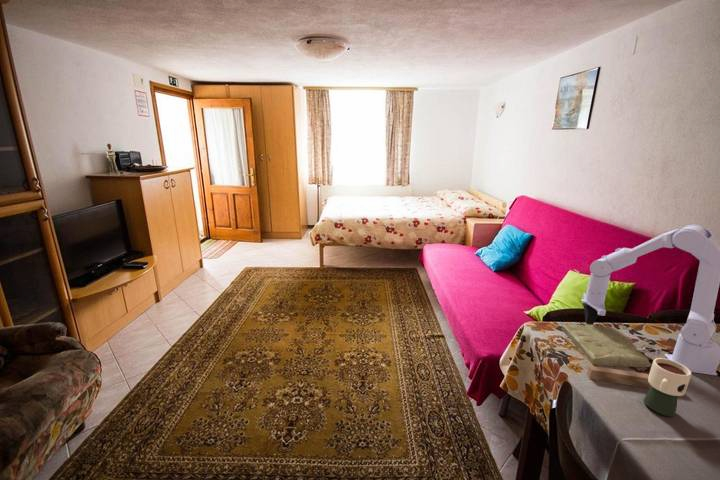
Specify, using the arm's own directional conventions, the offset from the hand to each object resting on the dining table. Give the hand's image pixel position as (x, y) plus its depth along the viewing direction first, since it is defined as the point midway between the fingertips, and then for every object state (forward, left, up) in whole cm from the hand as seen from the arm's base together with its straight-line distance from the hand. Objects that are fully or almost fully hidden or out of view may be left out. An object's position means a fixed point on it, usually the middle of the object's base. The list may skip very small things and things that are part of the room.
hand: (589, 323), depth 123 cm
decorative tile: (0, +13, -2) cm, 13 cm away
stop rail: (0, +31, -1) cm, 31 cm away
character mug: (-2, +40, -2) cm, 40 cm away
